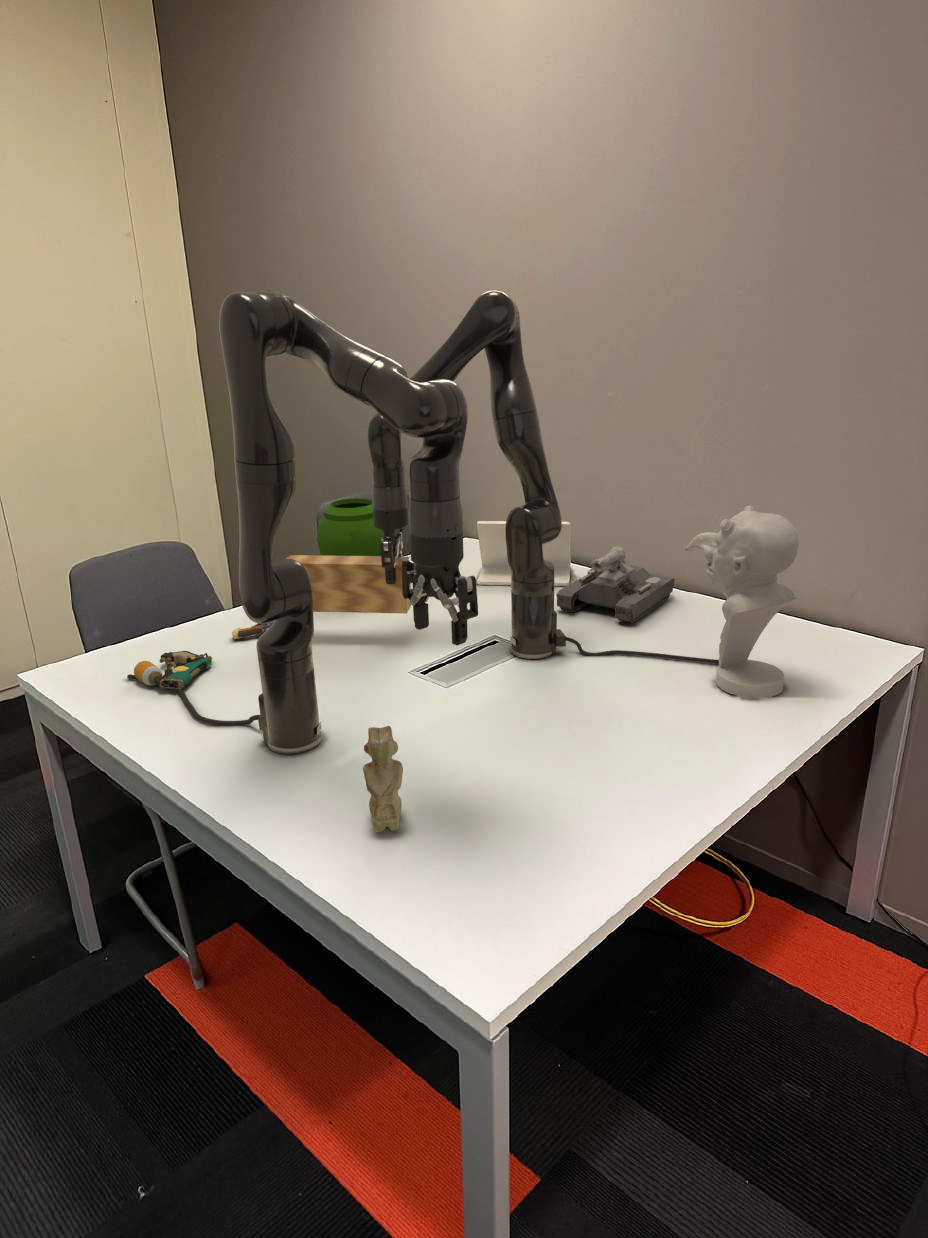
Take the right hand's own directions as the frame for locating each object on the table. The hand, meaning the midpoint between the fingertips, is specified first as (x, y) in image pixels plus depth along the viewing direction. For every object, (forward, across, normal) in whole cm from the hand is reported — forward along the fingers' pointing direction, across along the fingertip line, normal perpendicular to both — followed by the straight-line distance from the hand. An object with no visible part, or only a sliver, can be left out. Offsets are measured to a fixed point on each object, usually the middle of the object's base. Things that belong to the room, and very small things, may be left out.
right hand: (394, 578), depth 190 cm
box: (+7, 0, -11) cm, 13 cm away
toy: (+15, -26, +51) cm, 59 cm away
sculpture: (+15, +72, +12) cm, 74 cm away
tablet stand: (+15, -50, +27) cm, 59 cm away
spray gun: (+15, +21, -43) cm, 51 cm away
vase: (+16, -34, -17) cm, 41 cm away
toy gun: (+16, -7, -34) cm, 38 cm away
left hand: (-12, +63, +20) cm, 67 cm away
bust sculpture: (+15, +18, +71) cm, 75 cm away
